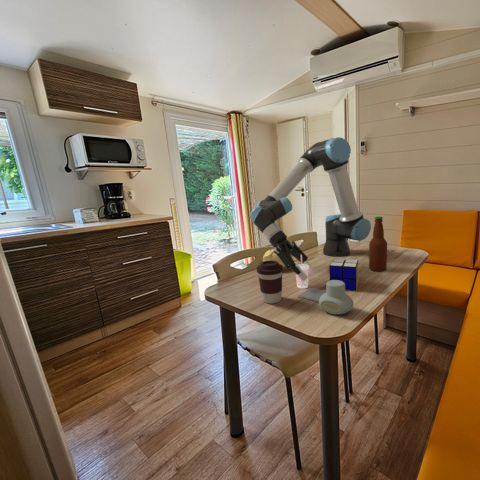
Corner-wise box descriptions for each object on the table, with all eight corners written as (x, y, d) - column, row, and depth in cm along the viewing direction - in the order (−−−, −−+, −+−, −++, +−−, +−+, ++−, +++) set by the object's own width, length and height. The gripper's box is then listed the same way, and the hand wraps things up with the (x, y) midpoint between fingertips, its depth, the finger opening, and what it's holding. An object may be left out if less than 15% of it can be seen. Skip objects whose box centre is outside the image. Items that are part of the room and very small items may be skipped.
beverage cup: (292, 286, 112) (290, 255, 109) (301, 282, 116) (299, 252, 113) (304, 290, 108) (302, 257, 105) (312, 285, 111) (311, 254, 109)
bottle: (385, 267, 125) (387, 215, 120) (387, 272, 119) (388, 217, 113) (368, 266, 128) (369, 216, 123) (369, 271, 122) (369, 218, 117)
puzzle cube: (329, 288, 107) (329, 265, 105) (333, 280, 116) (333, 258, 114) (356, 291, 103) (356, 267, 101) (358, 282, 111) (358, 259, 109)
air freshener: (315, 311, 90) (314, 283, 88) (325, 302, 96) (325, 276, 94) (347, 320, 83) (347, 290, 81) (356, 309, 89) (356, 281, 87)
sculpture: (266, 265, 145) (265, 246, 143) (288, 265, 141) (287, 246, 139) (261, 272, 134) (259, 252, 132) (284, 273, 130) (283, 252, 128)
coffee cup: (271, 308, 95) (268, 268, 92) (253, 300, 103) (250, 263, 100) (290, 299, 100) (288, 262, 97) (272, 292, 108) (270, 257, 105)
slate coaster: (310, 288, 109) (310, 287, 108) (334, 294, 102) (334, 292, 102) (297, 297, 102) (297, 296, 101) (322, 303, 95) (322, 302, 95)
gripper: (282, 236, 125) (315, 275, 117) (257, 245, 112) (292, 289, 104) (291, 226, 121) (326, 265, 113) (266, 234, 107) (303, 279, 99)
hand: (309, 276), depth 108 cm, fingers closed on beverage cup, 6 cm apart
